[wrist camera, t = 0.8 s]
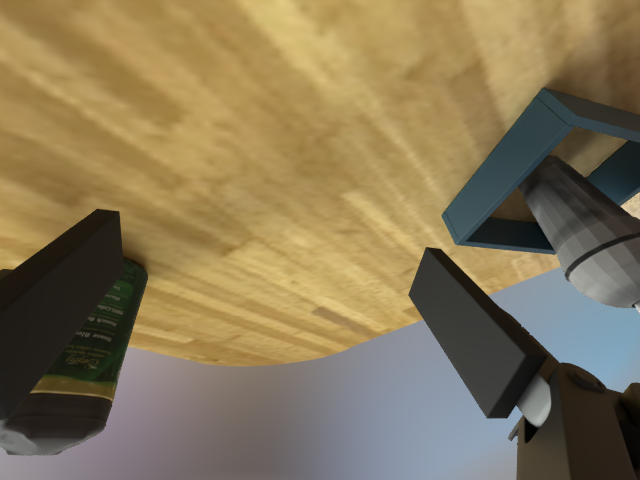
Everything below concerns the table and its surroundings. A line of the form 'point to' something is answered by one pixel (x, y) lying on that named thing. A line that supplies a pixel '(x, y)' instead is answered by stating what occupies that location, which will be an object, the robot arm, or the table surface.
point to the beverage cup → (586, 233)
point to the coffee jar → (79, 377)
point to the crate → (525, 155)
